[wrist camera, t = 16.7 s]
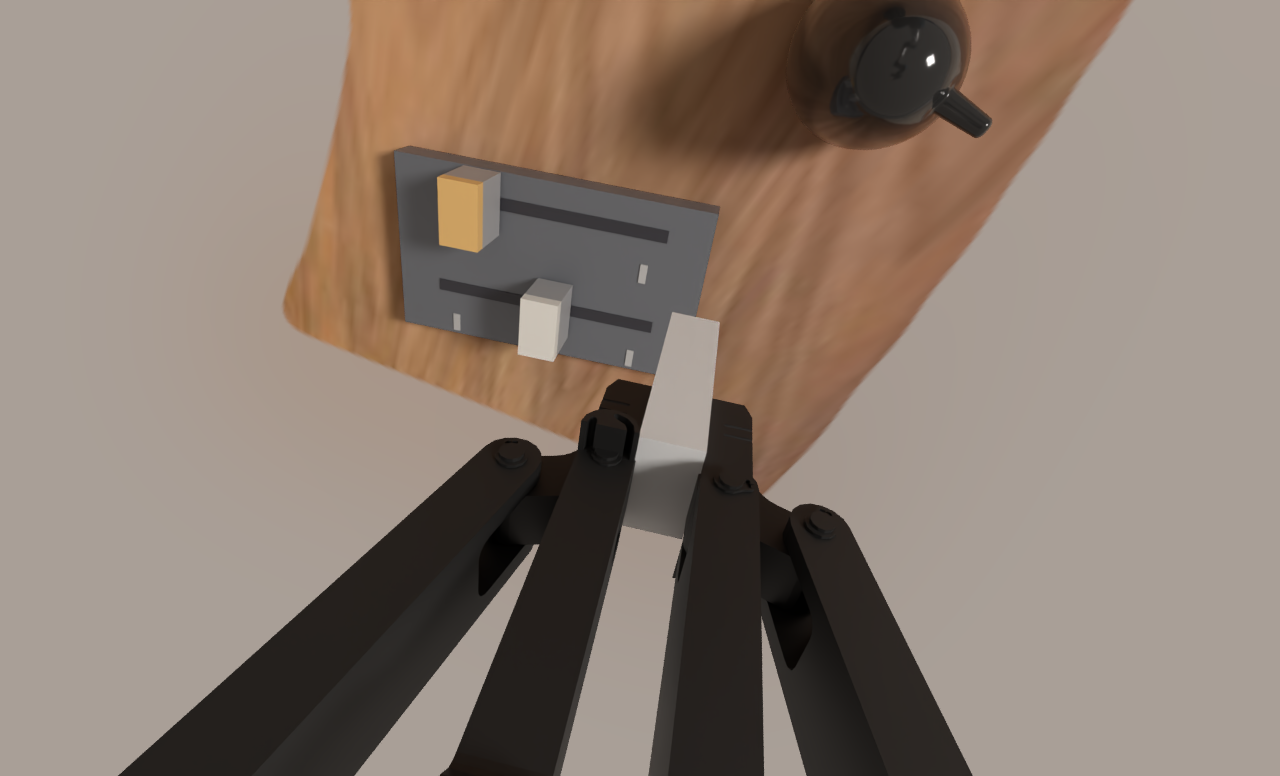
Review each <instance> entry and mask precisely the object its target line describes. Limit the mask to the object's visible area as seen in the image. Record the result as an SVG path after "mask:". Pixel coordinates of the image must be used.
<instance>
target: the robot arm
mask: <svg viewBox="0 0 1280 776" xmlns="http://www.w3.org/2000/svg"><path fill="white" fill-rule="evenodd" d="M719 325H720V322H717V321H712V320H707V319H703V318H698V317H693V316H689V315H684V314H679V313H675V312H672V315H671V319H670V323H669V326H668V330H667V334H666V337H665V341H664V345H663V349H662V352H661V356H660V360H659V363H658V367H657V371H656V375H655V378H654V382H653V386H648V385H643V384H639V383H634V382H629V381H625V380H620V379H618V380H616V381H615V382H614V383H612V384H611V385H610V386H608V387H607V389H606V392H605V394H604V397H603V400H602V402H601V404H600V407H599V409H598V410H595V411H593V412H591V413H588V414H586V416H585V417H584V418H583V419H582V420H581V428H580V436H579V443H578V450H577V451H575V452H572V453H570V454H566V455H559V456H541V452H540V451H539V449H538V448H537V446H536V445H534V444H532V443H531V442H529V441H527V440H523V439H519V438H503V439H499V440H495V441H493V442H491V443H490V444H488V445H486V446H485V447H484V448H483V449H482V450H481V451H479V452H478V453H477V454H476V455H475V456H474V457H473V458H472V459H470V460H469V461H468V462H467V463H466V464H465V465H464V466H463V467H462V468H461V469H459V470H458V471H457V472H456V473H455V474H454V475H453V476H452V477H451V478H449V479H448V480H447V481H446V482H445V483H444V484H443V485H442V486H440V487H439V488H438V489H437V490H436V491H435V492H434V493H433V494H431V495H430V496H429V497H428V498H427V499H426V500H425V501H424V502H423V503H422V504H420V505H419V506H418V507H417V508H416V509H415V510H414V511H413V512H411V513H410V514H409V515H408V516H407V517H406V518H405V519H404V520H402V521H401V522H400V523H399V524H398V525H397V526H396V527H395V528H394V529H393V530H391V531H390V532H389V533H388V534H387V535H386V536H385V537H384V538H382V539H381V540H380V541H379V542H378V543H377V544H376V545H375V546H374V547H372V548H371V549H370V550H369V551H368V552H367V553H366V554H365V555H363V556H362V557H361V558H360V559H359V560H358V561H357V562H356V563H355V564H354V565H352V566H351V567H350V568H349V569H348V570H347V571H346V572H345V573H343V574H342V575H341V576H340V577H339V578H338V579H337V580H336V581H335V582H334V583H332V584H331V585H330V586H329V587H328V588H327V589H326V590H325V591H323V592H322V593H321V594H320V595H319V596H318V597H317V598H316V599H315V600H313V601H312V602H311V603H310V604H309V605H308V606H307V607H306V608H305V609H303V610H302V611H301V612H300V613H299V614H298V615H297V616H296V617H295V618H293V619H292V620H291V621H290V622H289V623H288V624H287V625H285V626H284V627H283V628H282V629H281V630H280V631H279V632H278V633H277V634H276V635H274V636H273V637H272V638H271V639H270V640H269V641H268V642H267V643H265V644H264V645H263V646H262V647H261V648H260V649H259V650H258V651H257V652H255V654H253V655H252V656H251V657H250V658H249V659H248V660H246V661H245V662H244V663H243V664H242V665H241V666H240V667H239V668H238V669H236V670H235V671H234V672H233V673H232V674H231V675H230V676H229V677H228V678H226V680H224V681H223V682H222V683H221V684H220V685H219V686H218V687H216V688H215V689H214V690H213V691H212V692H211V693H210V694H209V695H208V696H206V697H205V698H204V699H203V700H202V701H201V702H200V703H199V704H198V705H196V706H195V707H194V708H193V709H192V710H191V711H190V712H189V713H187V715H185V716H184V717H183V718H182V719H181V720H180V721H179V722H177V723H176V724H175V725H174V726H173V727H172V728H171V729H170V730H168V731H167V732H166V733H165V734H164V735H163V736H162V737H161V738H160V739H159V740H157V741H156V742H155V743H154V744H153V745H152V746H151V747H150V748H148V749H147V750H146V751H145V752H144V753H143V754H142V755H141V756H140V757H139V758H137V759H136V760H135V761H134V762H133V763H132V764H131V765H130V766H128V767H127V768H126V769H125V770H124V771H123V772H122V773H121V774H119V775H118V776H354V775H355V774H356V773H357V771H358V770H359V769H360V768H361V766H362V765H363V764H364V762H365V761H366V760H367V759H368V757H369V756H370V755H371V754H372V752H373V751H374V750H375V749H376V747H377V746H378V745H379V743H380V742H381V741H382V740H383V738H384V737H385V736H386V735H387V733H388V732H389V731H390V729H391V728H392V727H393V726H394V724H395V723H396V721H398V719H399V718H400V717H401V715H402V714H403V713H404V712H405V710H406V709H407V708H408V706H409V705H410V704H411V703H412V701H413V700H414V699H415V698H416V696H417V695H418V694H419V692H420V691H421V690H422V689H423V687H424V686H425V685H426V684H427V682H428V681H429V680H430V678H431V677H432V676H433V675H434V673H435V672H436V671H437V670H438V668H439V667H440V666H441V664H442V663H443V662H444V661H445V659H446V658H447V657H448V656H449V654H450V653H451V652H452V650H453V649H454V648H455V647H456V645H457V644H458V642H460V640H461V639H462V638H463V636H464V635H465V634H466V633H467V631H468V630H469V629H470V628H471V626H472V625H473V624H474V622H475V621H476V620H477V619H478V617H479V616H480V615H481V614H482V612H483V611H484V610H485V608H486V607H487V606H488V605H489V603H490V602H491V601H492V599H493V598H494V597H495V596H496V594H497V593H498V592H499V591H500V589H501V588H502V587H503V585H504V584H505V583H506V582H507V580H508V579H509V578H510V577H511V575H512V574H513V573H514V571H515V570H516V569H517V567H518V566H519V565H520V564H521V563H522V561H523V560H524V559H525V557H526V556H527V555H528V554H529V552H530V551H531V549H532V547H533V545H534V544H540V545H539V547H538V550H537V552H536V555H535V557H534V560H533V562H532V565H531V567H530V570H529V572H528V575H527V577H526V580H525V582H524V585H523V587H522V590H521V592H520V595H519V597H518V600H517V602H516V605H515V607H514V610H513V612H512V614H511V617H510V620H509V622H508V625H507V627H506V629H505V632H504V634H503V637H502V640H501V642H500V644H499V647H498V650H497V652H496V655H495V657H494V659H493V662H492V664H491V667H490V669H489V672H488V675H487V677H486V679H485V682H484V684H483V687H482V689H481V692H480V694H479V697H478V699H477V702H476V704H475V707H474V709H473V712H472V714H471V717H470V719H469V722H468V724H467V727H466V729H465V732H464V734H463V737H462V739H461V742H460V744H459V747H458V749H457V752H456V754H455V756H454V759H453V761H452V762H451V764H450V766H449V768H448V769H446V770H445V771H444V772H443V773H441V774H440V776H560V774H561V770H562V766H563V762H564V758H565V754H566V750H567V746H568V742H569V738H570V734H571V730H572V726H573V722H574V718H575V714H576V710H577V706H578V702H579V698H580V694H581V690H582V686H583V682H584V678H585V674H586V670H587V666H588V662H589V658H590V654H591V650H592V646H593V642H594V638H595V634H596V630H597V626H598V622H599V618H600V614H601V610H602V606H603V602H604V598H605V594H606V590H607V586H608V582H609V578H610V574H611V570H612V566H613V562H614V558H615V554H616V550H617V546H618V542H619V537H620V532H621V527H622V525H623V526H628V527H632V528H636V529H640V530H645V531H649V532H653V533H658V534H662V535H666V536H671V537H675V538H679V539H682V537H683V534H684V537H683V543H682V546H681V550H680V553H679V556H678V560H677V564H676V567H675V571H674V574H673V578H676V579H675V586H674V594H673V601H672V608H671V615H670V623H669V630H668V637H667V645H666V652H665V660H664V667H663V674H662V681H661V688H660V695H659V703H658V711H657V717H656V725H655V732H654V739H653V747H652V754H651V761H650V768H649V776H764V748H763V747H764V746H763V694H762V693H763V691H762V689H763V688H762V637H761V636H762V631H761V616H762V620H763V623H764V627H765V630H766V634H767V637H768V641H769V644H770V648H771V652H772V655H773V658H774V662H775V666H776V669H777V673H778V676H779V679H780V683H781V687H782V690H783V694H784V697H785V701H786V705H787V708H788V712H789V715H790V719H791V722H792V725H793V729H794V732H795V736H796V740H797V743H798V747H799V750H800V754H801V758H802V761H803V765H804V768H805V772H806V775H807V776H972V773H971V771H970V769H969V767H968V765H967V763H966V761H965V759H964V757H963V755H962V753H961V751H960V749H959V748H958V745H957V743H956V741H955V739H954V737H953V735H952V733H951V731H950V729H949V727H948V725H947V723H946V721H945V719H944V717H943V715H942V713H941V711H940V709H939V707H938V705H937V703H936V701H935V699H934V697H933V695H932V693H931V691H930V689H929V687H928V685H927V683H926V681H925V679H924V677H923V675H922V673H921V671H920V669H919V667H918V665H917V663H916V661H915V659H914V657H913V655H912V653H911V651H910V649H909V647H908V645H907V643H906V641H905V639H904V636H903V635H902V632H901V630H900V628H899V626H898V624H897V622H896V620H895V618H894V616H893V614H892V612H891V610H890V608H889V606H888V604H887V602H886V600H885V598H884V596H883V594H882V592H881V590H880V588H879V586H878V584H877V582H876V580H875V578H874V576H873V574H872V572H871V570H870V568H869V566H868V564H867V562H866V560H865V558H864V556H863V554H862V552H861V550H860V548H859V546H858V544H857V542H856V540H855V538H854V536H853V534H852V532H851V530H850V528H849V526H848V525H847V523H846V522H845V521H844V519H843V518H841V517H840V516H839V515H837V514H836V513H835V512H833V511H832V510H829V509H828V508H825V507H823V506H819V505H815V504H803V505H799V506H797V507H796V508H794V509H793V511H792V512H790V511H788V510H786V509H784V508H782V507H779V506H777V505H776V504H774V503H772V502H770V501H769V500H768V499H766V498H765V497H764V496H763V495H762V494H761V493H760V492H759V488H758V485H757V482H756V481H755V480H754V478H753V462H752V417H751V415H750V414H749V412H748V410H747V409H746V407H745V406H744V405H739V404H735V403H730V402H726V401H721V400H717V399H712V395H713V385H714V375H715V365H716V355H717V345H718V335H719Z"/></svg>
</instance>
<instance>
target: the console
mask: <svg viewBox="0 0 1280 776" xmlns="http://www.w3.org/2000/svg"><path fill="white" fill-rule="evenodd" d="M394 159H395V174H396V189H397V204H398V219H399V234H400V249H401V264H402V279H403V294H404V309H405V321H406V322H410V323H415V324H420V325H425V326H429V327H434V328H439V329H443V330H448V331H453V332H458V333H462V334H467V335H472V336H477V337H481V338H486V339H491V340H495V341H500V342H505V343H510V344H514V345H518V341H519V320H520V299H521V297H522V296H523V295H524V294H525V293H526V292H527V290H528V289H529V288H530V287H531V286H532V285H533V284H534V282H535V281H536V280H537V279H538V278H540V279H545V280H550V281H555V282H560V283H565V284H570V285H573V288H572V298H571V308H570V318H569V328H568V338H567V339H566V341H565V343H564V345H563V346H562V348H561V350H560V351H559V353H558V354H562V355H566V356H571V357H576V358H580V359H585V360H590V361H595V362H599V363H604V364H609V365H613V366H618V367H623V368H628V369H632V370H637V371H642V372H647V373H651V374H656V371H657V367H658V363H659V360H660V356H661V352H662V349H663V345H664V341H665V337H666V334H667V330H668V326H669V323H670V319H671V315H672V312H675V313H679V314H684V315H689V316H693V317H696V314H697V309H698V305H699V300H700V296H701V291H702V287H703V282H704V278H705V274H706V269H707V265H708V260H709V256H710V251H711V247H712V242H713V238H714V233H715V229H716V224H717V220H718V216H719V209H720V206H715V205H710V204H705V203H700V202H694V201H689V200H684V199H679V198H674V197H669V196H664V195H659V194H654V193H649V192H643V191H638V190H633V189H628V188H623V187H618V186H613V185H608V184H603V183H597V182H592V181H587V180H582V179H577V178H572V177H567V176H562V175H557V174H552V173H546V172H541V171H536V170H531V169H526V168H521V167H516V166H511V165H506V164H500V163H495V162H490V161H485V160H480V159H475V158H470V157H465V156H460V155H455V154H449V153H444V152H439V151H434V150H429V149H424V148H419V147H414V146H407V147H404V148H400V149H397V150H394ZM463 165H465V166H470V167H475V168H480V169H485V170H490V171H496V172H501V182H500V222H499V236H498V237H496V238H495V239H494V240H493V241H491V242H490V243H489V244H488V245H486V246H485V247H484V248H483V249H481V250H480V251H479V252H478V253H476V252H472V251H467V250H462V249H457V248H452V247H447V246H442V245H439V222H438V189H437V177H438V176H440V175H443V174H445V173H447V172H449V171H452V170H454V169H456V168H458V167H461V166H463Z"/></svg>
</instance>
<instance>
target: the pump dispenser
mask: <svg viewBox="0 0 1280 776" xmlns="http://www.w3.org/2000/svg"><path fill="white" fill-rule="evenodd" d="M970 56H971V31H970V26H969V22H968V18H967V15H966V13H965V10H964V8H963V6H962V4H961V2H960V0H814V1H813V2H812V3H811V5H810V6H809V7H808V9H807V10H806V12H805V13H804V15H803V16H802V18H801V20H800V22H799V24H798V26H797V28H796V30H795V32H794V35H793V38H792V41H791V44H790V48H789V52H788V57H787V66H786V79H787V88H788V93H789V97H790V100H791V103H792V106H793V108H794V110H795V112H796V114H797V116H798V117H799V119H800V120H801V121H802V123H803V124H804V125H805V126H806V127H807V129H808V130H809V131H811V132H812V133H813V134H814V135H815V136H817V137H818V138H820V139H821V140H823V141H825V142H827V143H829V144H831V145H834V146H837V147H841V148H845V149H852V150H874V149H881V148H886V147H890V146H893V145H896V144H899V143H902V142H904V141H906V140H908V139H910V138H912V137H914V136H916V135H918V134H919V133H921V132H922V131H924V130H925V129H927V128H928V127H929V126H930V125H932V124H933V123H934V122H935V121H936V120H937V119H938V118H939V117H940V118H942V119H943V120H945V121H947V122H949V123H950V124H952V125H954V126H955V127H957V128H959V129H960V130H962V131H964V132H965V133H967V134H969V135H971V136H972V137H974V138H979V137H981V136H982V135H984V134H985V133H986V131H987V130H988V129H989V128H990V127H991V125H992V119H991V117H989V116H988V115H987V114H986V113H985V112H983V111H982V110H981V109H980V108H979V107H977V106H976V105H975V104H974V103H973V102H972V101H970V100H969V99H968V98H967V97H966V96H964V95H963V94H962V93H961V92H960V91H959V90H960V88H961V86H962V84H963V82H964V79H965V77H966V74H967V70H968V67H969V62H970Z"/></svg>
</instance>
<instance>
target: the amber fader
mask: <svg viewBox="0 0 1280 776" xmlns="http://www.w3.org/2000/svg"><path fill="white" fill-rule="evenodd" d="M500 182H501V172H496V171H490V170H485V169H480V168H475V167H470V166H465V165H463V166H461V167H458V168H456V169H454V170H452V171H449V172H447V173H445V174H443V175H440V176H438V177H437V189H438V222H439V245H442V246H447V247H452V248H457V249H462V250H467V251H472V252H476V253H478V252H479V251H480V250H481V249H483V248H484V247H485V246H486V245H488V244H489V243H490V242H491V241H493V240H494V239H495V238H496V237H498V236H499V222H500Z"/></svg>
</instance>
